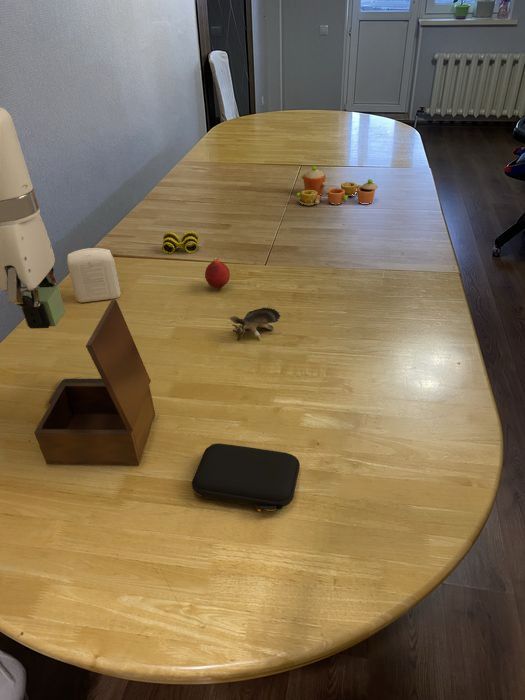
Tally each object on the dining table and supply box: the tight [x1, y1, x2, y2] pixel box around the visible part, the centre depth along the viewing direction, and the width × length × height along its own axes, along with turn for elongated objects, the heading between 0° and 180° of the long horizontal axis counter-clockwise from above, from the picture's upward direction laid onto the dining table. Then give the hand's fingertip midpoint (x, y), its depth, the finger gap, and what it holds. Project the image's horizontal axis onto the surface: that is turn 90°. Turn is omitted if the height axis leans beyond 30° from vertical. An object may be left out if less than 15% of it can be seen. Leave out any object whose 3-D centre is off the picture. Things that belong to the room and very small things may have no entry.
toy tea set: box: [295, 165, 379, 206], centre depth 169 cm, size 26×16×10 cm, turn 85°
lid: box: [85, 299, 152, 432], centre depth 75 cm, size 16×12×1 cm
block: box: [20, 286, 67, 328], centre depth 81 cm, size 4×4×4 cm
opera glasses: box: [161, 230, 199, 255], centre depth 141 cm, size 10×5×5 cm, turn 92°
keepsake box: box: [33, 383, 156, 467], centre depth 82 cm, size 15×12×7 cm
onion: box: [204, 257, 231, 290], centre depth 122 cm, size 6×6×8 cm
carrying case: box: [191, 442, 301, 513], centre depth 75 cm, size 11×3×15 cm
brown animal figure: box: [229, 307, 282, 341], centre depth 106 cm, size 8×7×9 cm
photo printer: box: [66, 247, 122, 303], centre depth 119 cm, size 10×4×12 cm, turn 102°
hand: (46, 317), depth 82 cm, fingers closed on block, 4 cm apart
